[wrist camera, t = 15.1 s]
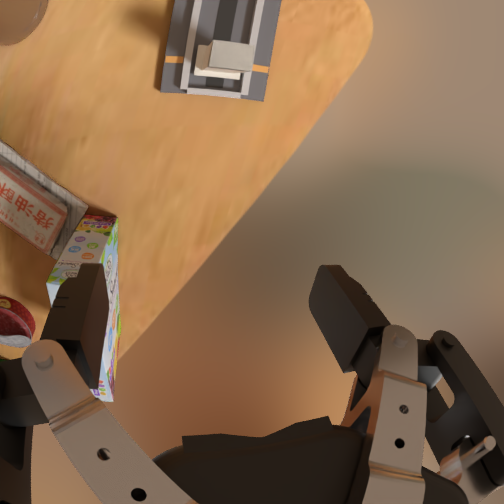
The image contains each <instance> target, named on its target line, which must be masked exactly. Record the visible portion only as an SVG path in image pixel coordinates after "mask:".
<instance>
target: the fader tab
mask: <svg viewBox="0 0 504 504" xmlns="http://www.w3.org/2000/svg"><path fill="white" fill-rule="evenodd" d="M254 52H255V46H254V45H248V44H242V43H235V42H228V41H220V40H213V41H212V42H211V43H210V45H209V46H207V45H198V50H197V57H196V63H195V70H194V75H196V76H208V77H218V78H227V79H236V80H239V79H240V73H244V72H251V69H252V63H253V57H254Z"/></svg>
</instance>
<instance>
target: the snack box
mask: <svg viewBox="0 0 504 504" xmlns="http://www.w3.org/2000/svg"><path fill="white" fill-rule="evenodd" d="M82 263H102V264H103V266H104V272H105V279H106V285H107V292H108V298H109V316H108V322H107V328H106V334H105V340H104V347H103V354H102V361H101V369H100V378H99V388H98V390H97V389H90V390H91V392H92V393H93V395H94V396H95V397H96V398H97V397H98V398H99V399H100V400H101V401H107V402H113V400H114V385H115V373H116V364H117V356H118V348H119V340H120V333H121V321H120V308H119V291H118V217H105V216H94V215H84V217H83V218H82V220H81V221H80V223H79V225H78V226H77V228H76V230H75V231H74V233H73V235H72V236H71V238H70V239H69V241H68V243H67V245H66V246H65V248H64V250H63V252H62V253H61V255H60V257H59V259H58V260H57V262H56V264H55V266H54V268H53V270H52V272H51V274H50V276H49V277H48V280H47V282H46V285H47V290H48V294H49V299H50V303H51V307H52V304H53V301H54V299H55V296H56V294H57V291H58V289H59V286H60V285H61V284H62V283H63V282H64V281H65V280H66V279H67V278H68V277H77V274H78V271H79V269H80V266H81V264H82Z"/></svg>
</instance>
